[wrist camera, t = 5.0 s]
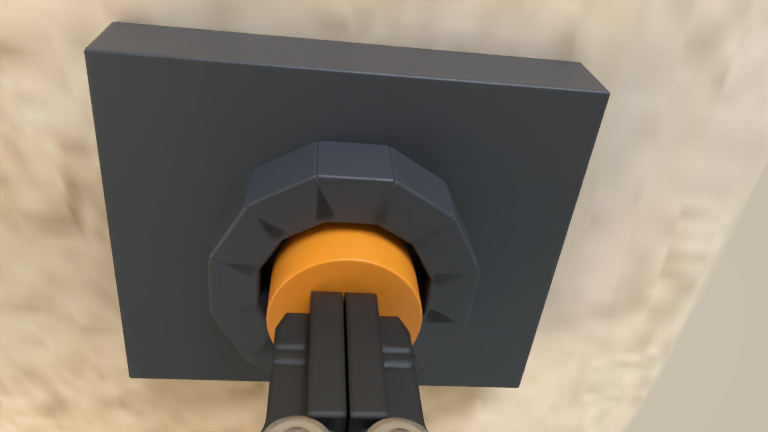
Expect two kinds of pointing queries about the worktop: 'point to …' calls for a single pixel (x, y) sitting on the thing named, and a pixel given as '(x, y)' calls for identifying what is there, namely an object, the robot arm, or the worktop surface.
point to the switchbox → (332, 187)
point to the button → (345, 272)
